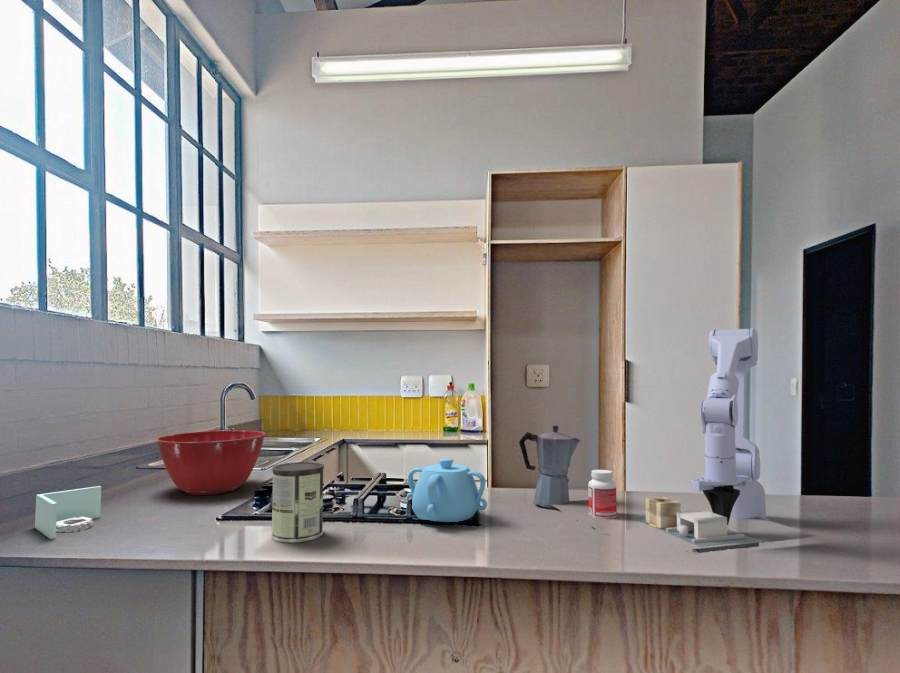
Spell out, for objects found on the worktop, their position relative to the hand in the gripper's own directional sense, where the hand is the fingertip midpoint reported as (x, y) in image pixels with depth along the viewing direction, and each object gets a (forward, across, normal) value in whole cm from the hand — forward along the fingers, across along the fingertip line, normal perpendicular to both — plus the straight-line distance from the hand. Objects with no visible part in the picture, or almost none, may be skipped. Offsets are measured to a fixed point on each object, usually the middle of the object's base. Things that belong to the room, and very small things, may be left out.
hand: (721, 524), depth 113 cm
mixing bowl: (+3, +93, -90) cm, 130 cm away
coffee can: (+3, +78, -37) cm, 87 cm away
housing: (+1, +5, -1) cm, 5 cm away
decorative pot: (+3, +45, -36) cm, 58 cm away
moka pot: (+3, +16, -38) cm, 41 cm away
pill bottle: (+3, +13, -21) cm, 25 cm away
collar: (+2, +7, -9) cm, 11 cm away
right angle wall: (+4, +121, -62) cm, 136 cm away
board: (+3, +3, -6) cm, 7 cm away
